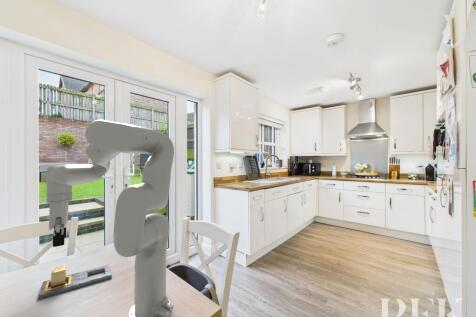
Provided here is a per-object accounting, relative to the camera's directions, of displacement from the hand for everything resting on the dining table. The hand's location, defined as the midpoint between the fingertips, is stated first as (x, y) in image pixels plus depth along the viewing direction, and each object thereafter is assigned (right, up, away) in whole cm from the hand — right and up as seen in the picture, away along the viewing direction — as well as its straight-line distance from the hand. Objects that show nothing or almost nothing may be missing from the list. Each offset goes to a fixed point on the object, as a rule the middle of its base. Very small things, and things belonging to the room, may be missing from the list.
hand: (59, 241), depth 79 cm
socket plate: (+4, -18, +4) cm, 18 cm away
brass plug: (0, -18, 0) cm, 18 cm away
